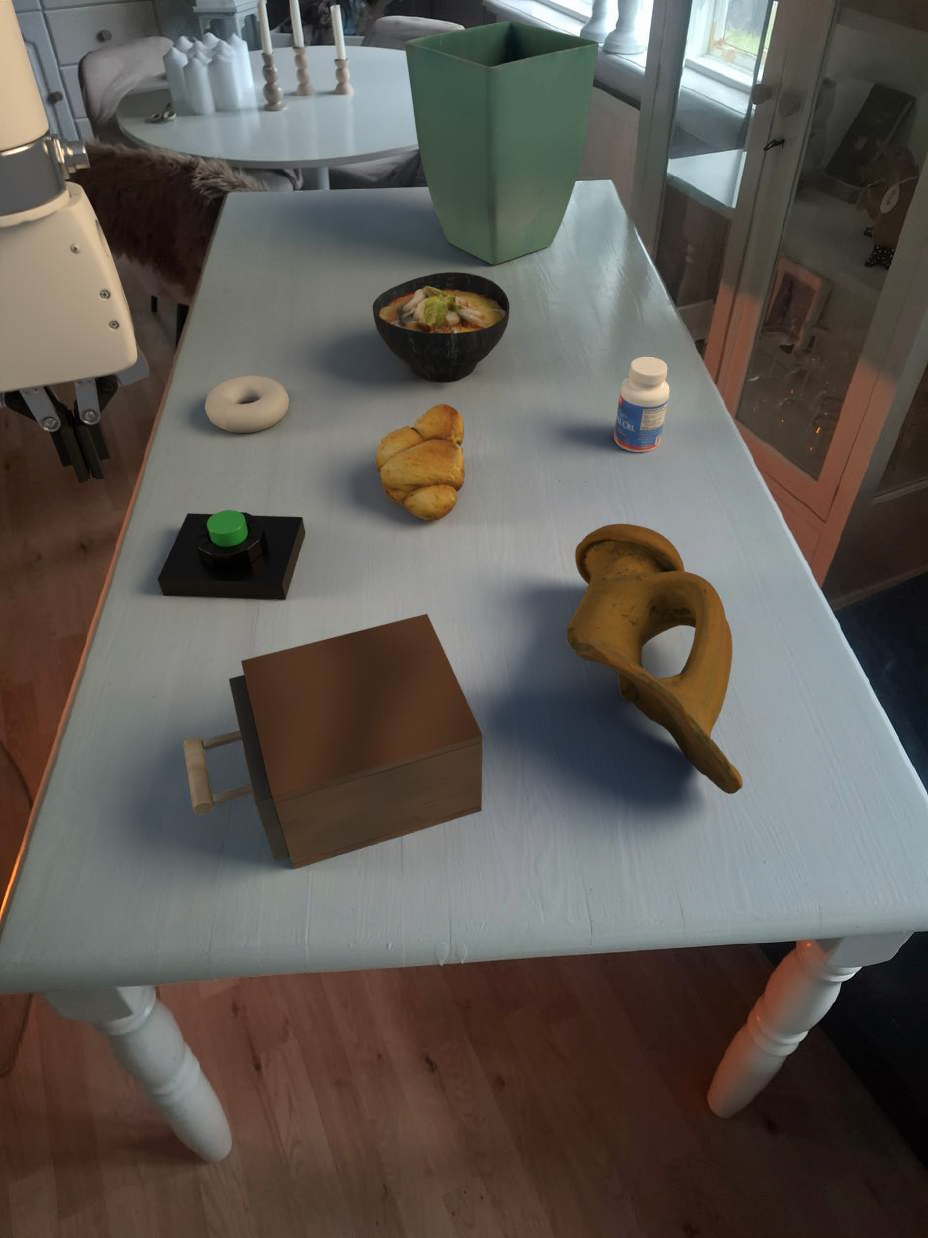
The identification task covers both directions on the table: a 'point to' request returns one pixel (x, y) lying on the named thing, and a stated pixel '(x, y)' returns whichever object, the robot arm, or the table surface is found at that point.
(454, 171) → the flower pot
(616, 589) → the brown looped sculpture
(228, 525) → the button
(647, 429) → the pill bottle
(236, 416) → the donut
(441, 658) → the cabinet
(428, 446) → the bread roll
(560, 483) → the table surface
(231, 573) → the block
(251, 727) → the drawer
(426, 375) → the bowl
